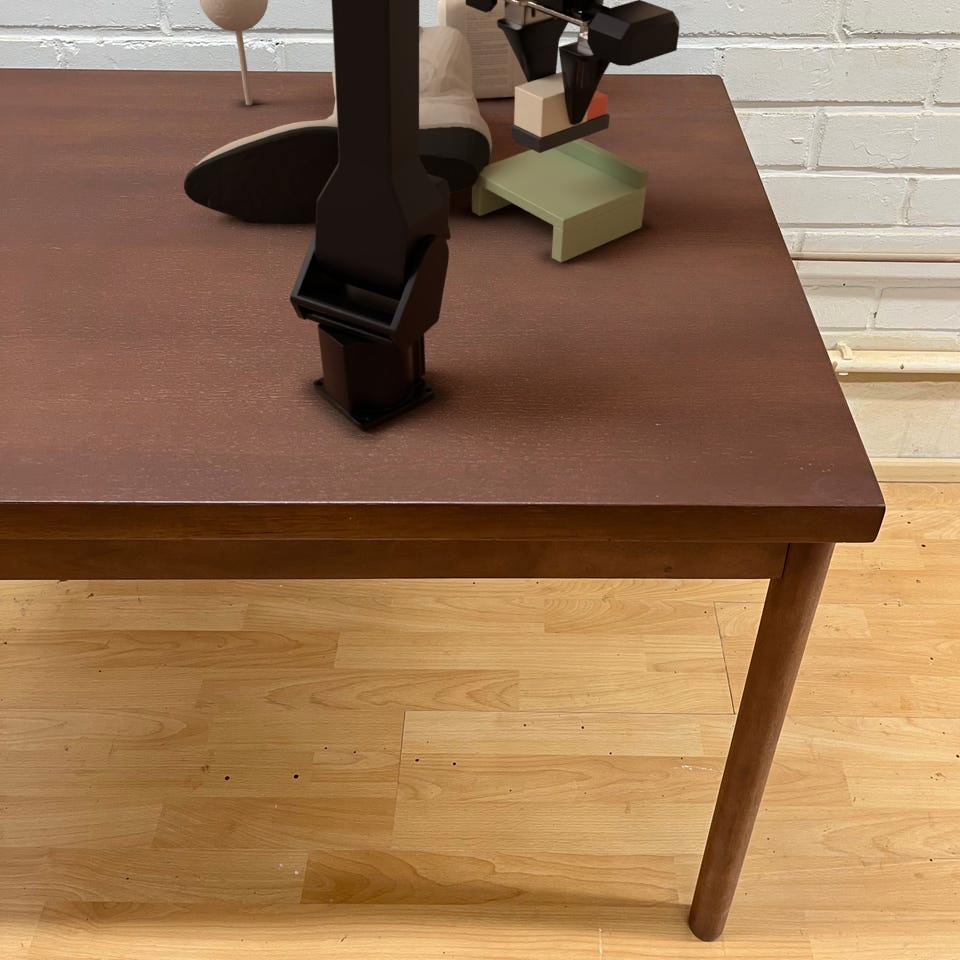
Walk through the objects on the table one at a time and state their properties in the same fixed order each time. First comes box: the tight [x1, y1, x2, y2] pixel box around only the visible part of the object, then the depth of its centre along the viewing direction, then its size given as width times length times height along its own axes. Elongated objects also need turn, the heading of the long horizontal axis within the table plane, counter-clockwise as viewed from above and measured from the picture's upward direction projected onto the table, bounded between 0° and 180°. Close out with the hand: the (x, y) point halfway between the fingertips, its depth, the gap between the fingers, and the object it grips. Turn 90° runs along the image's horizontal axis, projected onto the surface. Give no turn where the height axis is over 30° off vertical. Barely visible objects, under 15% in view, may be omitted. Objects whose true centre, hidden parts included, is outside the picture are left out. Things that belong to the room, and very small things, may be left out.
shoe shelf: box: [471, 138, 650, 263], centre depth 90 cm, size 10×12×6 cm
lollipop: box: [198, 0, 269, 106], centre depth 106 cm, size 7×7×15 cm
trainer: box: [510, 71, 611, 153], centre depth 84 cm, size 8×4×4 cm, turn 130°
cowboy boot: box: [183, 25, 493, 225], centre depth 96 cm, size 10×28×25 cm
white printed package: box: [437, 0, 528, 100], centre depth 110 cm, size 10×4×12 cm, turn 102°
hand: (560, 116), depth 84 cm, fingers closed on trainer, 3 cm apart
